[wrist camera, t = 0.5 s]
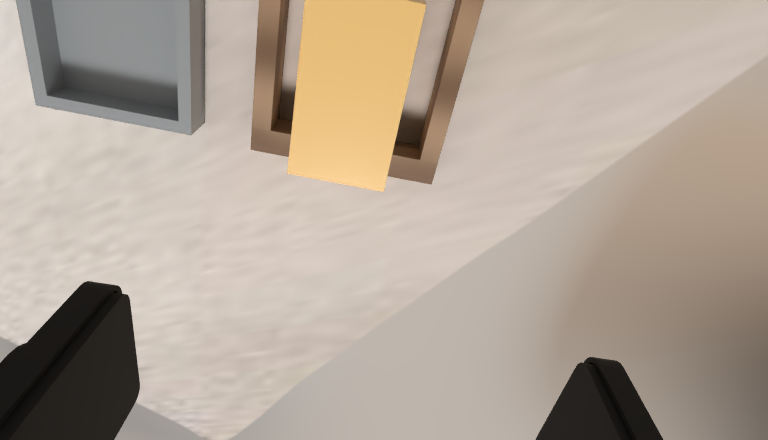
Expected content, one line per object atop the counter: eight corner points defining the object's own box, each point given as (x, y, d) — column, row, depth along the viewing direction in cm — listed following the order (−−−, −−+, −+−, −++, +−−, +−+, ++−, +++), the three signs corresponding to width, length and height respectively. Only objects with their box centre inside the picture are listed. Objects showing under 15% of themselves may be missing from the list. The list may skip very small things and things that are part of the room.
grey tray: (19, -158, 25) (-17, -168, 23) (205, -114, 26) (187, -119, 23) (60, 94, 32) (35, 105, 30) (204, 122, 33) (191, 135, 31)
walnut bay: (273, -68, 27) (262, -69, 25) (481, -20, 28) (488, -17, 26) (260, 136, 33) (250, 149, 31) (429, 169, 34) (431, 184, 32)
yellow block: (336, -46, 27) (309, -39, 19) (419, -27, 28) (429, -11, 19) (316, 111, 32) (287, 173, 24) (387, 125, 33) (383, 191, 24)
